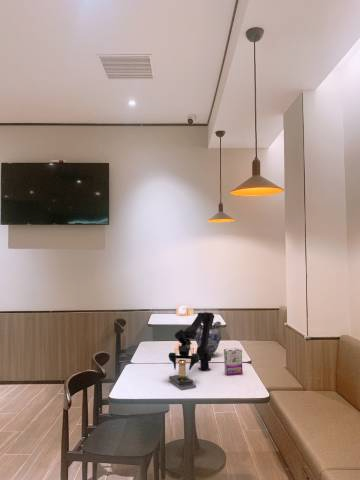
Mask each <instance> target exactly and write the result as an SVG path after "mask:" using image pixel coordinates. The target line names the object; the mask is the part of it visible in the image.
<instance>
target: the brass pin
mask: <svg viewBox="0 0 360 480" xmlns="http://www.w3.org/2000/svg"><path fill="white" fill-rule="evenodd" d="M177 363H178V375H179V381H185V380H186V364H187V359H180V360H177Z"/></svg>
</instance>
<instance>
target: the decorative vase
mask: <svg viewBox="0 0 360 480" xmlns="http://www.w3.org/2000/svg"><path fill="white" fill-rule="evenodd" d="M202 324H203V322H202V323H201V324H200V326H199V328H198V329H197V334H196V337H195V338H194V339H195V342H196V345H197V347H199V346H200V345H201V338H202V331H203V325H202ZM221 326H222V322H221V321H216V322H214V321H213V323H212V324H211V325H210V331H209V339H208V349H209V354H210V356H211V357H212V358H215V354H214V353H215V352H216V351H217V349H218V347H219V346H220V342H221V339H222V337H221V334H220V329H219V328H220V327H221ZM212 358H211V359H212Z"/></svg>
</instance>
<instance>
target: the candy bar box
mask: <svg viewBox="0 0 360 480" xmlns="http://www.w3.org/2000/svg"><path fill="white" fill-rule="evenodd" d="M223 353H224V354H223V356H224V357H223V360H224V361H223V363H224V374H225V375H226V376H227V377H228V376H239V375H243V350H242V348H240V347H234V348H224V349H223Z"/></svg>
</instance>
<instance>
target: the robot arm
mask: <svg viewBox="0 0 360 480" xmlns="http://www.w3.org/2000/svg"><path fill="white" fill-rule="evenodd" d="M214 320H215V314H214V313H213V312H208V311H207V312H206V311H204V312H197V315H196V317H195V319H194V321H193V322H192V323H191V325H190V326H188V327H187V328H186V329H185V330H183V329H179V331H176V332H175V335H174V337H175V339H176V340H177V342H178V343H179V344H180V345H179V346H178V354H176V352H169V353H168V359H169V361H170V362H172V363H173V369H174V370H176V369H177V359H180V360H190V361H189V368H188V370H189V372H190V371H191V370H192V368H193V366H194V365H195V364H197V363H200V364H199V365H200V367H198V370H200V371H202V372H205V371H211V369H212V368H209V367H210V365H209V363H210V362H211V361H212V357H211V356H210V354H209V349H208V339H209V331H210V325H211V324H212V323H213V322H214ZM202 322H203V323H202ZM200 324H203V325H202V328H203V331H202V338H201V345H200V346H199V347H198V346H197V347H196V352H195V353H191V355H190V352H191V345H192V341H191V340H194V339H195V337H196V334H197V329H198V328H199V326H200ZM213 324H214V323H213ZM213 324H212V325H213Z"/></svg>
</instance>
